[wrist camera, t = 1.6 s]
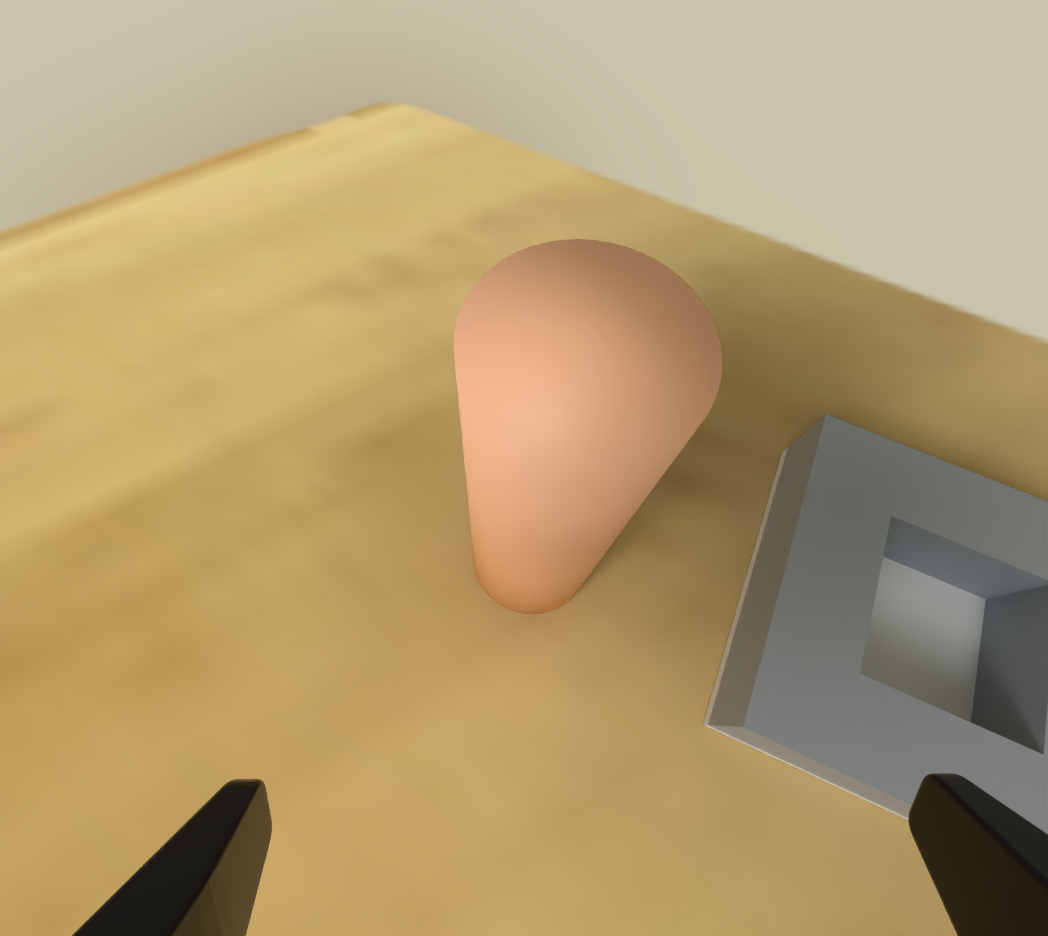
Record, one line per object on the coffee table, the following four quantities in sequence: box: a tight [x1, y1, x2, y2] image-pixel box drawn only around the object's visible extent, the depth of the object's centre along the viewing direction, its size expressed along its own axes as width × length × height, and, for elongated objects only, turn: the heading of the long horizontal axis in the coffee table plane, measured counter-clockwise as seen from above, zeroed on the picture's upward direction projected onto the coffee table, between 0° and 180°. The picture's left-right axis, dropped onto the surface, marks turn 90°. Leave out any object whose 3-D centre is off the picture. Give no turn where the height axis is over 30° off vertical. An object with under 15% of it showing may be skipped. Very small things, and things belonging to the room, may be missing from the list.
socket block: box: [703, 414, 1048, 834], centre depth 20 cm, size 12×12×4 cm
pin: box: [453, 239, 723, 614], centre depth 16 cm, size 4×4×14 cm
